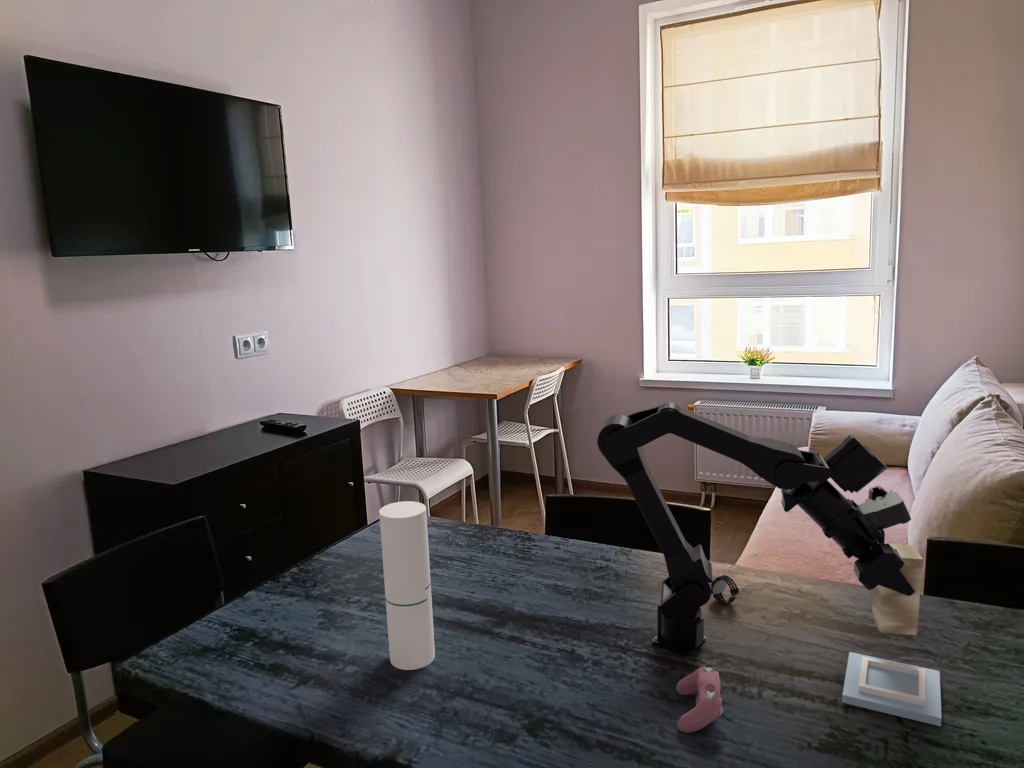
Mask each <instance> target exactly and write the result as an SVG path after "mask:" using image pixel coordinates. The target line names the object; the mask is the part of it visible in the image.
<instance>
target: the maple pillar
mask: <svg viewBox="0 0 1024 768" xmlns="http://www.w3.org/2000/svg"><path fill="white" fill-rule="evenodd" d="M884 544H886V542H884ZM889 544H890V545H891V546H892V547H893V548H894V549H896V550H897V552H898V553H899V555H900V556H901V558H902V560H903V561H904V563H905V564H904V565H903V567H902V568H901V569H900V571H901V572H902V573H903V575H904V576H905V578H906V579H907V581H908V582H909V584H910V585H911V586H912V588H913V589H914V591H915V593H913V594H912V595H911V596H907V595H904V594H902V593H899V592H897V591H894V590H891V589H889V588H886V587H883V586H880V585H878V586H876V587H875V588H874V589H873V597H872V608H871V616H872V618H873V620H874V623H875V625H876V627H877V629H878V631H879V632H880V633H887V634H888V633H889V634H895V635H908V636H911V635H912V636H917V635H918V626H919V625H918V624H919V623H918V622H919V612H920V600H921V589H922V576H923V567H924V566H923V564H924V559H923V557H922V555H921V554H920V553H919V551H918V550H917V549H916V547H915V546H914V544H902V543H901V544H897V543H889Z"/></svg>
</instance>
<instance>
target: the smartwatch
mask: <svg viewBox="0 0 1024 768" xmlns="http://www.w3.org/2000/svg"><path fill="white" fill-rule="evenodd" d="M727 586H728V587H729V593H730V594H729V597H728V600H726V599H725V598H724V596H723V592H724V591H725V590H726V589H727ZM711 591H712V594H711V595H712V597H713V598H714V600H715V601H716V602H718V604H720V605H722V606H726V605H730V604H732V603H733V602H734V601H735V600H736V597H737V596H738V595H739V592H740V589H739V587H738V586H737V584H736V582H735V581H734V580H733V579H732V578H731V577H730V576H729V575H726V574H724V575H721V576H717V577H715V578H714V579H713V583H711ZM726 602H727V603H726Z"/></svg>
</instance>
